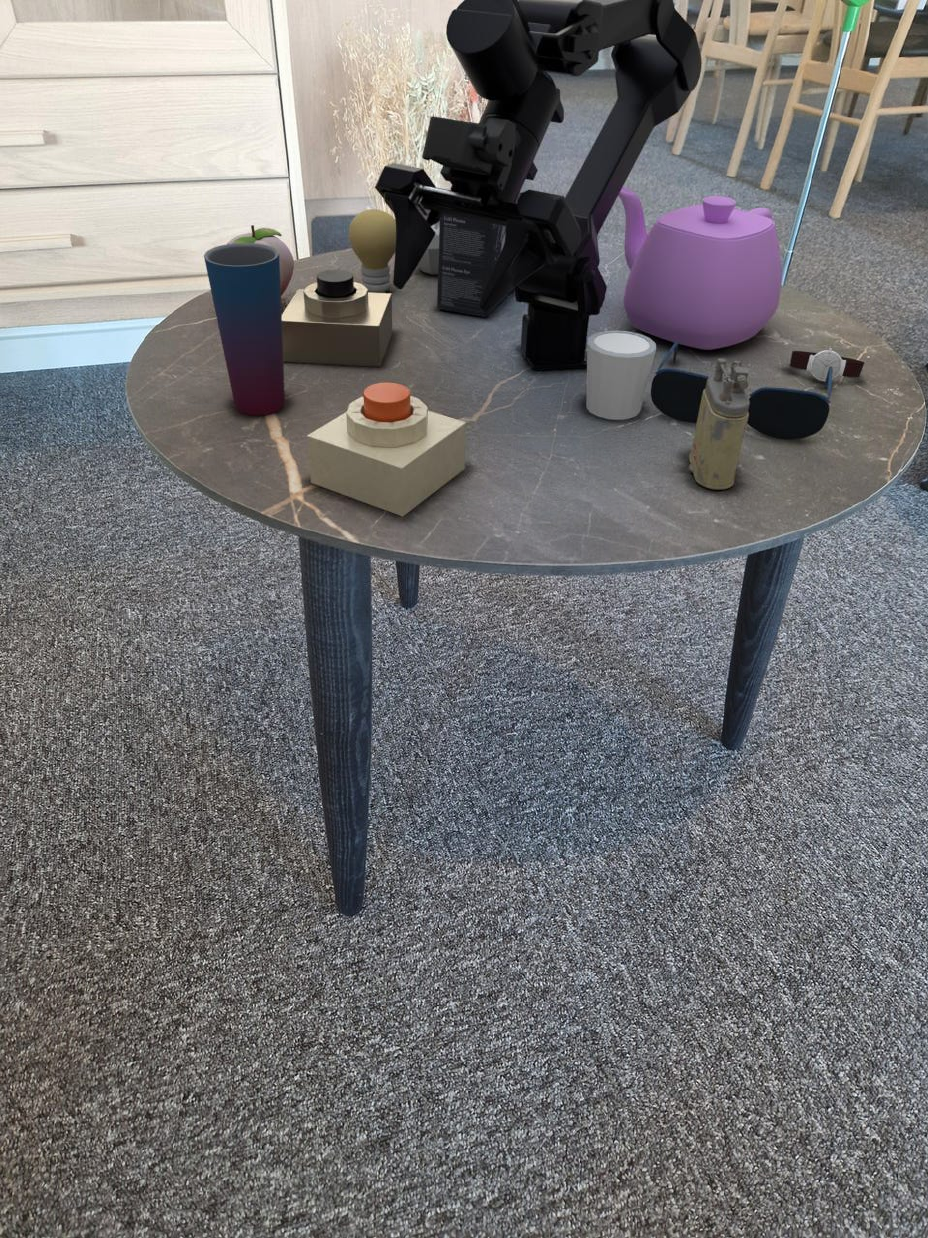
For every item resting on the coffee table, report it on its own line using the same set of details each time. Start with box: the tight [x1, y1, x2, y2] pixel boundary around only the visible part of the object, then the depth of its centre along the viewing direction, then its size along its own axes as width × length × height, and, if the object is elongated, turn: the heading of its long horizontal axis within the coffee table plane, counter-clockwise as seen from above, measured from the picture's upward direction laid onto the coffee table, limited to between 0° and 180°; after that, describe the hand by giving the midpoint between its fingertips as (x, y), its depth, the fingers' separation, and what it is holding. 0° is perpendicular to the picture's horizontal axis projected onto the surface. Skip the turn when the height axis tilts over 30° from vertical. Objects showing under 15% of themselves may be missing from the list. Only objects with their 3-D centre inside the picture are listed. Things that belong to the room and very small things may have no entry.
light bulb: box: [348, 208, 396, 293], centre depth 119 cm, size 6×6×10 cm
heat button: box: [316, 269, 355, 298], centre depth 103 cm, size 4×4×2 cm
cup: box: [203, 243, 286, 416], centre depth 90 cm, size 7×7×15 cm
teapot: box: [618, 186, 783, 351], centre depth 112 cm, size 23×21×15 cm
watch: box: [789, 347, 865, 382], centre depth 103 cm, size 8×5×4 cm, turn 70°
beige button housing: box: [306, 395, 467, 518], centre depth 82 cm, size 10×10×6 cm
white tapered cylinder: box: [585, 330, 657, 421], centre depth 94 cm, size 7×7×7 cm
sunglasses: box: [650, 342, 833, 440], centre depth 98 cm, size 17×15×5 cm
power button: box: [362, 382, 411, 422], centre depth 80 cm, size 4×4×2 cm
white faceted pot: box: [417, 222, 439, 276], centre depth 126 cm, size 8×8×7 cm
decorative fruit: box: [226, 224, 295, 296], centre depth 113 cm, size 9×8×10 cm
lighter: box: [688, 358, 750, 490], centre depth 83 cm, size 7×4×10 cm, turn 177°
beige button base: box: [282, 281, 393, 368], centre depth 105 cm, size 11×10×6 cm
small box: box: [436, 191, 522, 318], centre depth 117 cm, size 13×7×12 cm, turn 160°
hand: (438, 297), depth 82 cm, fingers open, 9 cm apart
